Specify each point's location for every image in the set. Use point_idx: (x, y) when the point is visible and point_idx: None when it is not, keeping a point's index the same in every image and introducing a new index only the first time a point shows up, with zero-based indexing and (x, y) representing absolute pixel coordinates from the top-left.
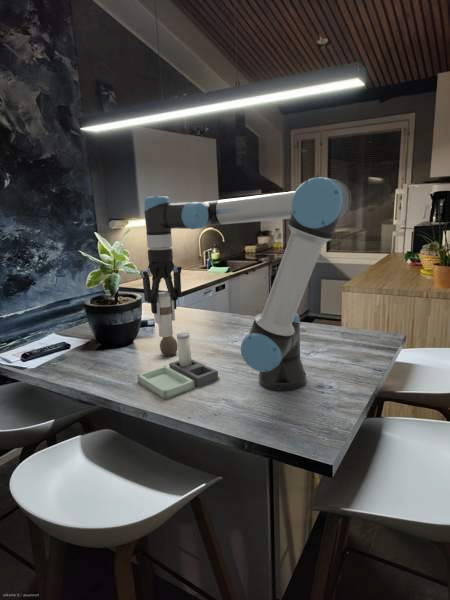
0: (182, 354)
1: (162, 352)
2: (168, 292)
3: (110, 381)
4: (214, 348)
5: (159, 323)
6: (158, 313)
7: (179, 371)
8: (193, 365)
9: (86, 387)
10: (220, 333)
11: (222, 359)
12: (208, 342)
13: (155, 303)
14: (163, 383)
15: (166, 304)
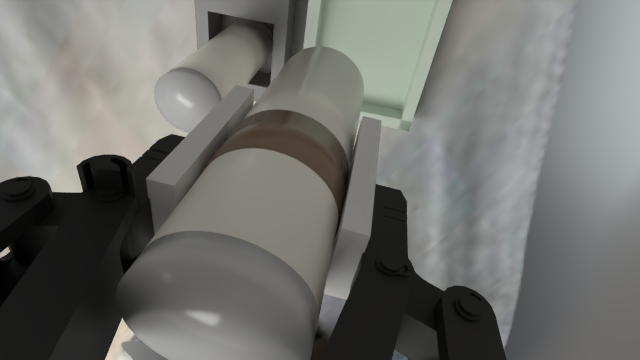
0: (243, 56)
1: None
2: (133, 303)
3: (447, 189)
4: (71, 106)
5: (374, 119)
6: (371, 166)
7: (289, 31)
8: (228, 8)
9: (511, 212)
10: (5, 174)
11: (89, 6)
12: (67, 156)
13: (388, 250)
14: (379, 22)
15: (273, 171)
